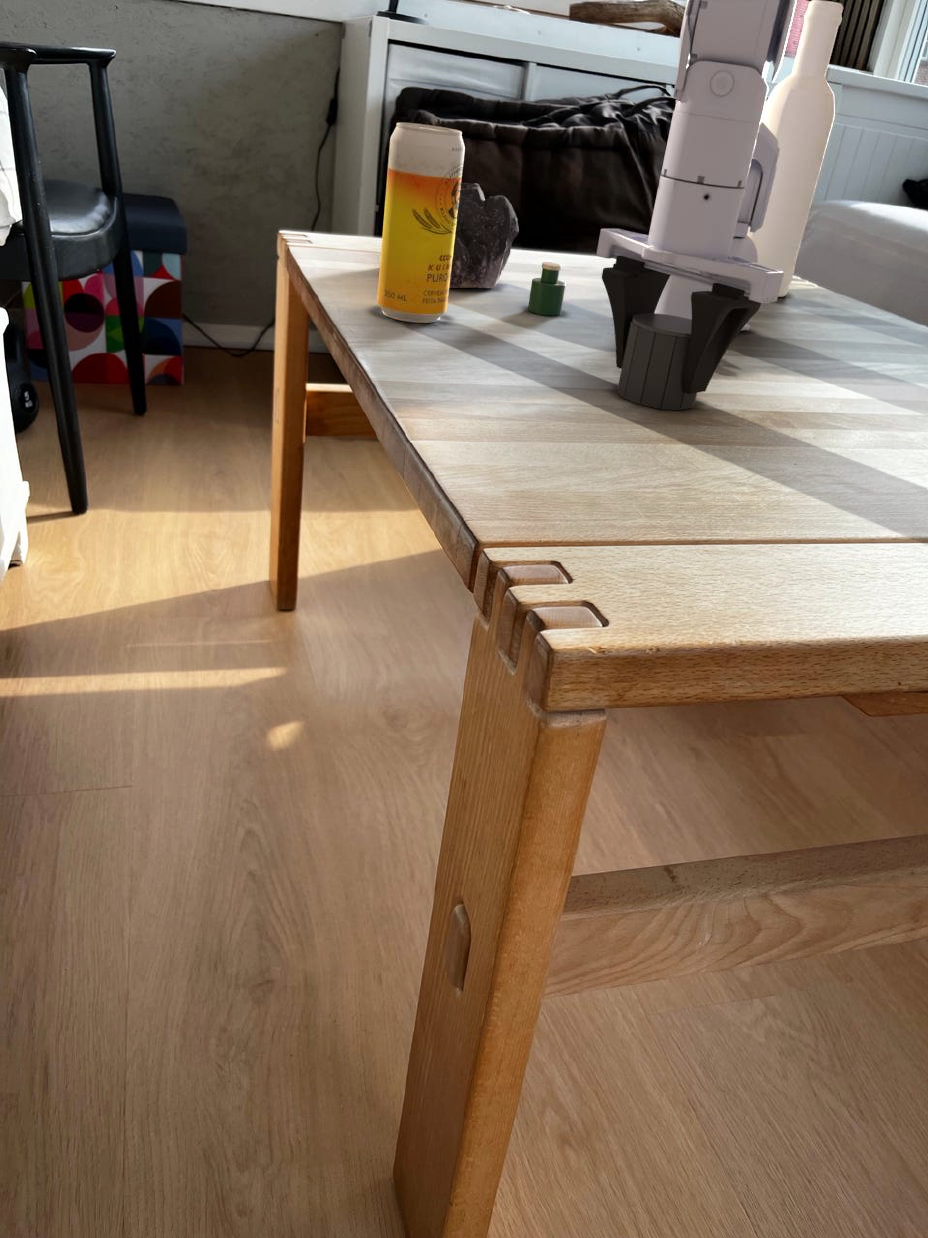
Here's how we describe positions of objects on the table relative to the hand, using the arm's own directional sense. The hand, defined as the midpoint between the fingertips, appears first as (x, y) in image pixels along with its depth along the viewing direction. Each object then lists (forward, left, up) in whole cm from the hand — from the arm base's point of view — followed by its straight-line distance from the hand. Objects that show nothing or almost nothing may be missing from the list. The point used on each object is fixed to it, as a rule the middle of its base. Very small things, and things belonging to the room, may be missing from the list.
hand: (659, 378), depth 76 cm
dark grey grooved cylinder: (0, 0, -1) cm, 1 cm away
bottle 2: (-51, -25, -2) cm, 57 cm away
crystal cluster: (-11, -37, -2) cm, 39 cm away
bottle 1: (-12, -23, -1) cm, 26 cm away
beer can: (+3, -25, -2) cm, 25 cm away
